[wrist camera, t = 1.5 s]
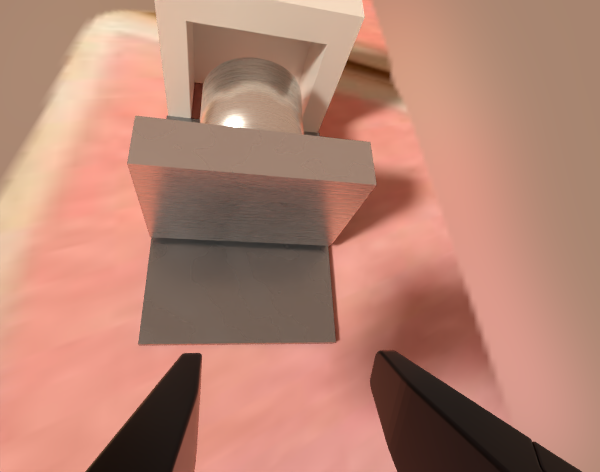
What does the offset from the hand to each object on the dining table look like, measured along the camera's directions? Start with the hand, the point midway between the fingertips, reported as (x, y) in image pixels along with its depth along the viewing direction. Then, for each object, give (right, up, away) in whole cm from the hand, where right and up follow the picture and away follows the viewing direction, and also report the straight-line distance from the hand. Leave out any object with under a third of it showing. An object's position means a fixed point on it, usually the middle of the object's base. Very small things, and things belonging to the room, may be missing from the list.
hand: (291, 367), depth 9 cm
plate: (-3, +4, +16) cm, 17 cm away
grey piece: (-3, +6, +16) cm, 18 cm away
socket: (-4, +13, +20) cm, 25 cm away
